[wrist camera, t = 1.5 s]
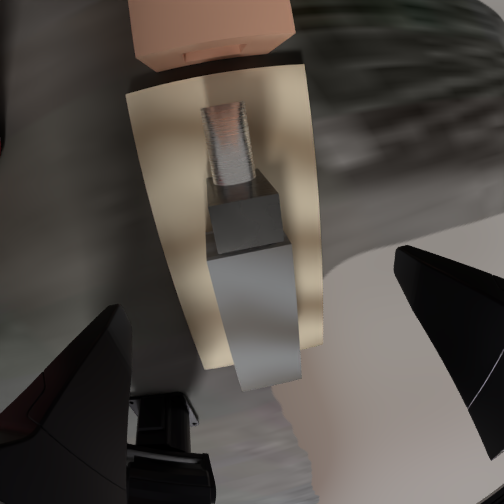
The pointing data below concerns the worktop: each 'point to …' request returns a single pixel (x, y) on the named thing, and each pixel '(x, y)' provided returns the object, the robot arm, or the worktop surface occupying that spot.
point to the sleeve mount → (201, 232)
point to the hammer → (237, 184)
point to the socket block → (206, 30)
